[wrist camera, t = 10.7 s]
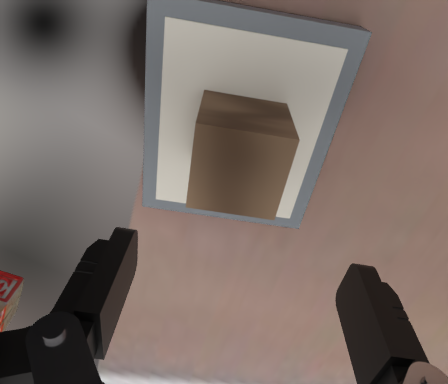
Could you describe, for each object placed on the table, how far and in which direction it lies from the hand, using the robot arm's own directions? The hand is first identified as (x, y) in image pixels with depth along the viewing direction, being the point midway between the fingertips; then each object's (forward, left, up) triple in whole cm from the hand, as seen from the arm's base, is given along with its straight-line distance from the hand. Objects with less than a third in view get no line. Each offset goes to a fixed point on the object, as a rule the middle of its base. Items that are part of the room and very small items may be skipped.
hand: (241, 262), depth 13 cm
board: (0, 0, -13) cm, 13 cm away
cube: (0, 0, -11) cm, 11 cm away
